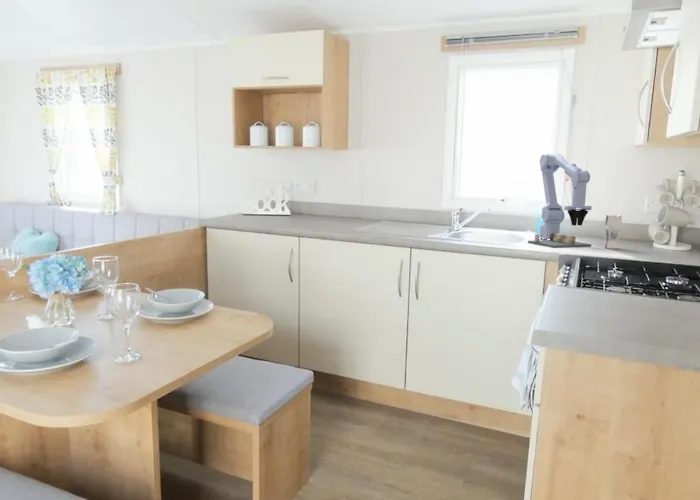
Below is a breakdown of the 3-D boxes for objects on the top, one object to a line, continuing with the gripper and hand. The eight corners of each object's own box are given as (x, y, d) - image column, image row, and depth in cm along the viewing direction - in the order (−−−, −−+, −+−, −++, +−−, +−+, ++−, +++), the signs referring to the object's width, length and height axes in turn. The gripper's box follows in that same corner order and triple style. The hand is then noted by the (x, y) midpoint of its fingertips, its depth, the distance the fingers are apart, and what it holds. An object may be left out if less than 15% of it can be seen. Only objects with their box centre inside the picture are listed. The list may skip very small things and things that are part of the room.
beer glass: (610, 249, 250) (613, 216, 248) (599, 247, 257) (602, 215, 255) (622, 249, 252) (625, 216, 250) (612, 246, 259) (614, 215, 257)
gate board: (527, 242, 268) (528, 232, 268) (564, 241, 276) (564, 232, 275) (553, 247, 252) (554, 237, 251) (591, 246, 259) (592, 236, 259)
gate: (548, 240, 270) (549, 232, 270) (552, 239, 271) (553, 232, 271) (571, 244, 256) (572, 236, 255) (575, 244, 257) (576, 236, 256)
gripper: (572, 197, 254) (570, 226, 256) (597, 197, 259) (595, 225, 261) (562, 196, 261) (559, 224, 262) (586, 196, 266) (584, 224, 267)
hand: (576, 225), depth 262 cm, fingers open, 3 cm apart
